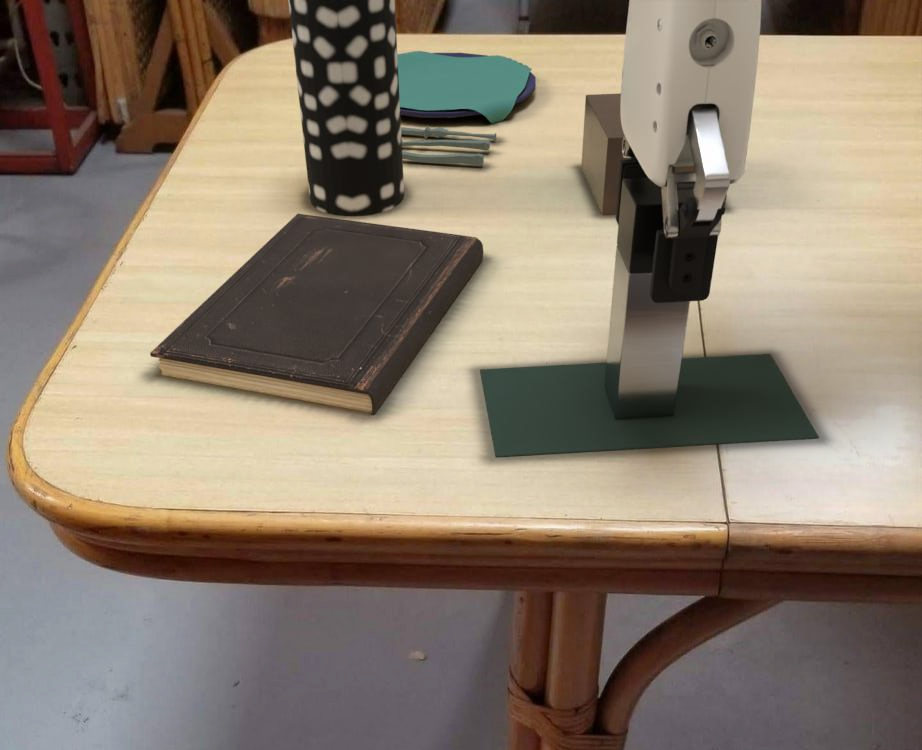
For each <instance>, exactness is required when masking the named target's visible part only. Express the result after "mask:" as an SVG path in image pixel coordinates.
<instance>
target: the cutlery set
mask: <svg viewBox="0 0 922 750" xmlns="http://www.w3.org/2000/svg"><path fill="white" fill-rule="evenodd" d="M397 57H398V78H399V98H400V116H404V117H405V116H407V117H413V118H421V119H452V118H453V119H454V118H463V117H472V116H479V115H482V116H484V117H485V118H486V119H487V120H488V122H489V123H490V124H496V123H500V122H503V120H504V119H506V118H507V117H508V116H509V115H510V113H511V112H512V110H513V109H514V106H515V105H516V104H518V103H521V102H522V101H525V100H526V99H528V97H529V96H530V95H531V94H532V93H533V92H534V91H536V87H537V86H536V85H537V84H536V83H537V82H536V80H537V79H536V76H535V75H534V73H532V72H531V71H532V69H533V68H532V67H529V66H528V65H527V64H524V63H522V62H518V61H517V60H515V59H512V58H511V57H506V56H504V55H486V54H476V53H467V52H430V51H429V52H428V51H423V50H414V51H413V50H412V51H409V52H403V53H397ZM401 135H412V136H413V135H415V136H423V137H424V140H410V141H403V140H402V147H414V146H415V147H447V148H448V147H449V148H463V149H472V150H479V151H484V152H485V151H489V150H490V148H491V140H493V141H494V143H496V142H497V132H495V133H472V132H471V133H470V132H465V131H454V130H448V129H446V128H443V127H441V126H437V127H435V128H430V127H429V125H428V124H427V125H426V127H425V129H421V128H413V127H404V126H401ZM431 136H433V137H435V138H436V139H434V140H427V139H428V137H431ZM446 136H457V137H472V138H473V137H474V138H480V139H481V138H482V139H483V140H482V139H481V140H479V139H477V140H475V139H473V140H471V139H438V138H442V137H446ZM484 139H485V140H484ZM484 158H485V154H483V153H451V154H449V153H448V154H426V153H425V154H422V153H415V152H409V151H402V160H407V161H412V162H418V163H424V164H425V163H426V164H443V165H445V164H446V165H448V164H449V165H450V164H453V165H454V164H461V165H462V164H463V165H473V166H477V167H481V166H483V165H484V162H485V159H484Z"/></svg>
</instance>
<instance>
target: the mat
mask: <svg viewBox="0 0 922 750" xmlns="http://www.w3.org/2000/svg"><path fill="white" fill-rule="evenodd" d="M605 372H606V362H591V363H574V364H571V363H570V364H554V365H553V364H552V365H536V366H533V365H532V366H517V367H497V368H481V369H479V374H480V379H481V385H482V390H483V397H484V400H485V401H484V403H485V407H486V413H487V418H488V423H489V429H490V434H491V440H492V446H493V450H494V455H495V458H496V459H497V458H512V457H528V456H529V457H531V456H546V455H562V454H563V455H566V454H581V453H599V452H617V451H631V450H651V449H666V448H681V447H698V446H701V447H702V446H715V445H730V444H731V445H733V444H734V445H735V444H749V443H750V444H751V443H766V442H767V443H768V442H783V441H784V442H785V441H799V440H800V441H801V440H802V441H803V440H815V439H816V440H817V439H819V437H820V436H819V435H818V433H817V432H816V430H815V428H814V426H813V425H812V423H811V421H810V419H809V418H808V416H807V414H806V412H805V411H804V409H803V407H802V405H801V404H800V402H799V400H798V399H797V397H796V396H795V394H794V392H793V390H792V389H791V387H790V385H789V384H788V382H787V380H786V379H785V377H784V374H783V373H782V372H781V370H780V368H779V366H778V364H777V363H776V361H775V359H774V358H773V356H772V354H771V353H759V354H758V353H755V354H739V355H738V354H737V355H720V356H717V355H716V356H702V357H701V356H700V357H682V362H681V369H680V377H679V384H678V391H677V398H676V405H675V412H674V416H666V417H649V418H631V419H615V418H614V415H613V412H612V409H611V406H610V403H609V400H608V397H607V394H606V391H605V388H604V383H605Z"/></svg>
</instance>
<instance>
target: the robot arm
mask: <svg viewBox="0 0 922 750" xmlns="http://www.w3.org/2000/svg"><path fill="white" fill-rule="evenodd" d="M626 19H627V20H626V29H625V37H624V49H623V60H622V70H621V85H620V93H621V106H620V114H621V125H622V129H623V132H624V137H623V142H622V153H623V157H624V158H631V160H621V162H620V173H619V185H618V197H617V209H616V215H615V222H616V223H617V225H619V214H620V202H621V191H622V180H623V179H627V178H649V179H650V180H651V181H652V182H654V183H655V184H656V185H658V186H660V187H661V193H662V210H663V227H664V230H657V232H656V241H655V250H654V259H653V268H652V277H651V286H650V296H651V298H652V300H653V301H654V302H655V303H669V302H688V301H690V302H702V301H703V302H704V301H705V300H707V299H708V298H709V296H710V294H711V293H710V292H711V287H712V286H711V285H712V279H713V273H714V267H715V259H716V253H717V246H718V239H719V236H720V234H721V231H722V217H723V215H724V214H725V213H726V207H725V208H723V206H724V204H725V205H726V203H724V199H725V196H726V194H728V191H729V188H730V185H734V184H737V183H738V182H739V181H740V180H741V179H742V178H743V176H744V175H745V172H746V171H745V170H746V166H747V165H746V164H747V156H748V150H749V141H750V134H751V125H752V116H753V109H754V108H753V107H754V101H755V100H754V98H755V91H756V82H757V81H756V79H757V72H758V63H759V62H758V60H759V51H760V37H761V21H762V0H629V2H628V11H627V18H626ZM678 166H694V168H695V171H689V172H674V169H675V167H678ZM688 189H693V191H694V197H688V198H686V200H685V202H684V203H683V205H682V206H681V208H680V209H679V211H678V197H677V190H688Z"/></svg>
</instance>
